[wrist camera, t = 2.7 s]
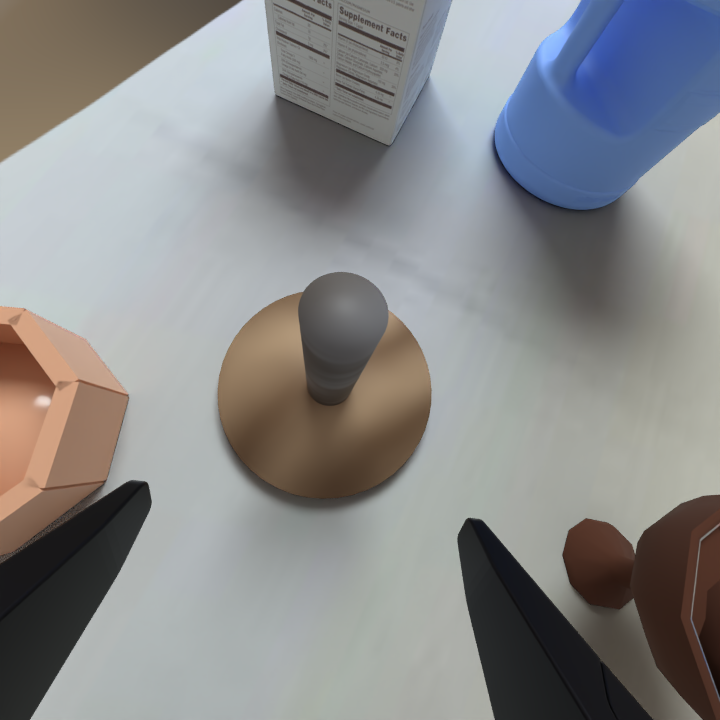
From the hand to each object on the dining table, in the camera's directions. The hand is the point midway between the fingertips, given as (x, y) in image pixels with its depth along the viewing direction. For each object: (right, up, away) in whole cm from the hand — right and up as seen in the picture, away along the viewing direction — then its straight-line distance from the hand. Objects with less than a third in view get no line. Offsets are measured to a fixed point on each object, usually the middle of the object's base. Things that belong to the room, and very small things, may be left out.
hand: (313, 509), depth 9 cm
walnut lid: (-1, +2, +14) cm, 14 cm away
